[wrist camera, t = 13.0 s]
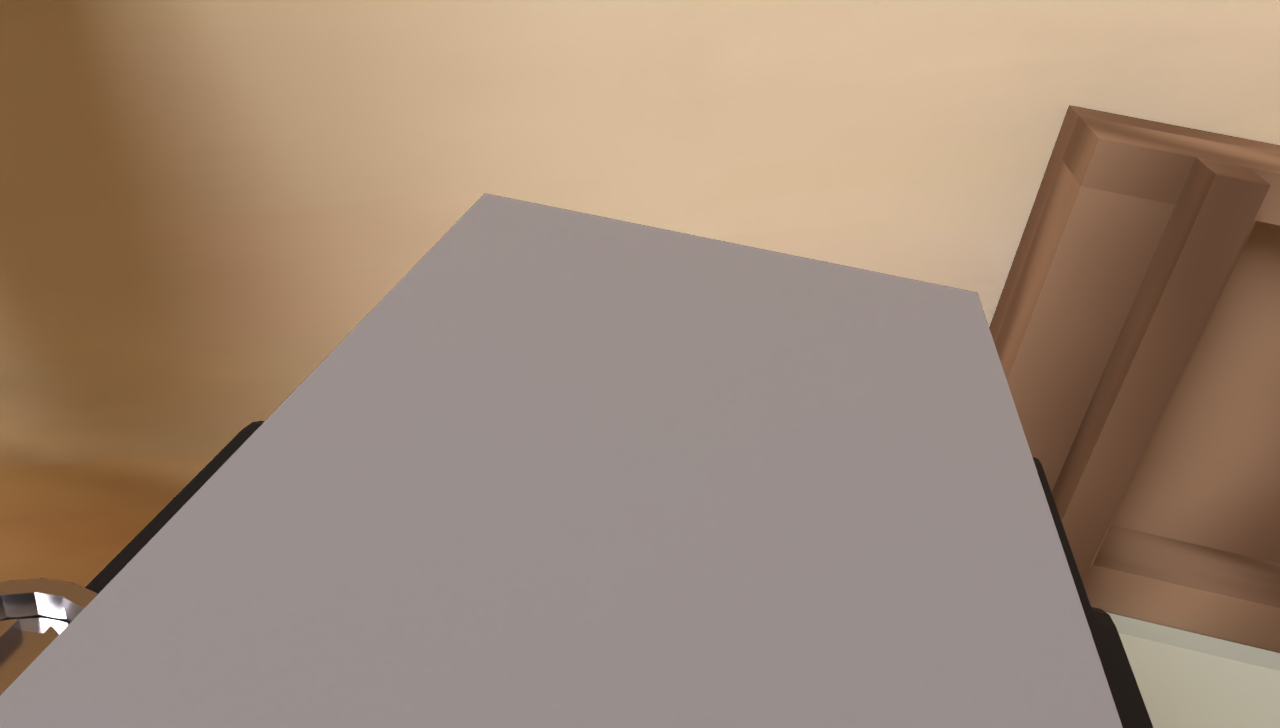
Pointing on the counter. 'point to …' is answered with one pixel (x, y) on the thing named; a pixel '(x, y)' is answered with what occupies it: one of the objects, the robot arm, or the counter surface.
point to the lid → (1201, 678)
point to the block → (608, 513)
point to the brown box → (1156, 368)
